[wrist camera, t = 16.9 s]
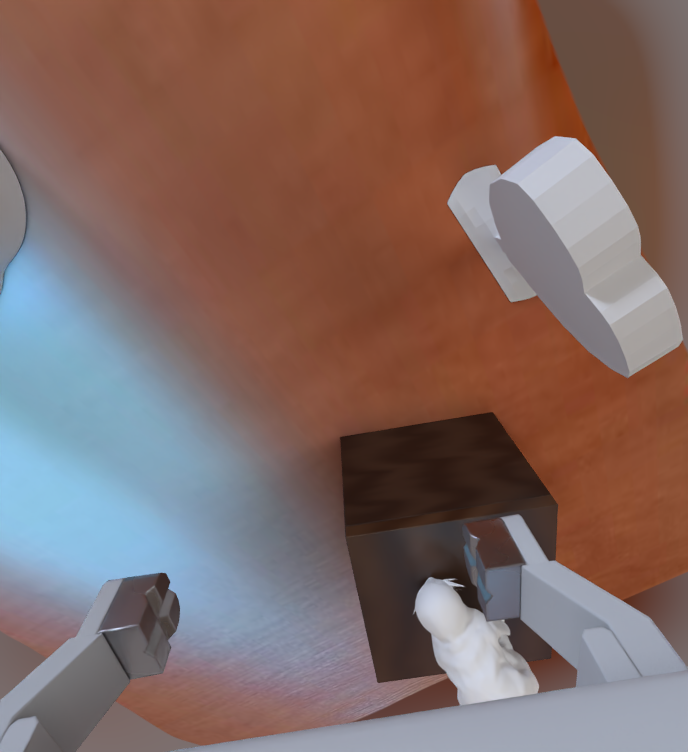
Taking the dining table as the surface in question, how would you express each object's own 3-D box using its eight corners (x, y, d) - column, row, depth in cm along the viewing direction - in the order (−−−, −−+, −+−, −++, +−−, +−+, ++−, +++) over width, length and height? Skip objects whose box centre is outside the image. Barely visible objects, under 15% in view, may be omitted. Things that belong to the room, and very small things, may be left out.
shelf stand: (365, 561, 57) (377, 683, 43) (340, 436, 49) (345, 537, 35) (496, 541, 56) (551, 658, 43) (492, 412, 48) (558, 504, 35)
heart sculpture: (565, 285, 43) (714, 352, 26) (520, 317, 44) (635, 400, 28) (483, 144, 37) (606, 118, 21) (434, 184, 39) (515, 189, 22)
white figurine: (487, 765, 34) (398, 673, 30) (462, 659, 42) (389, 578, 39) (563, 733, 32) (478, 634, 29) (521, 630, 40) (451, 544, 37)
